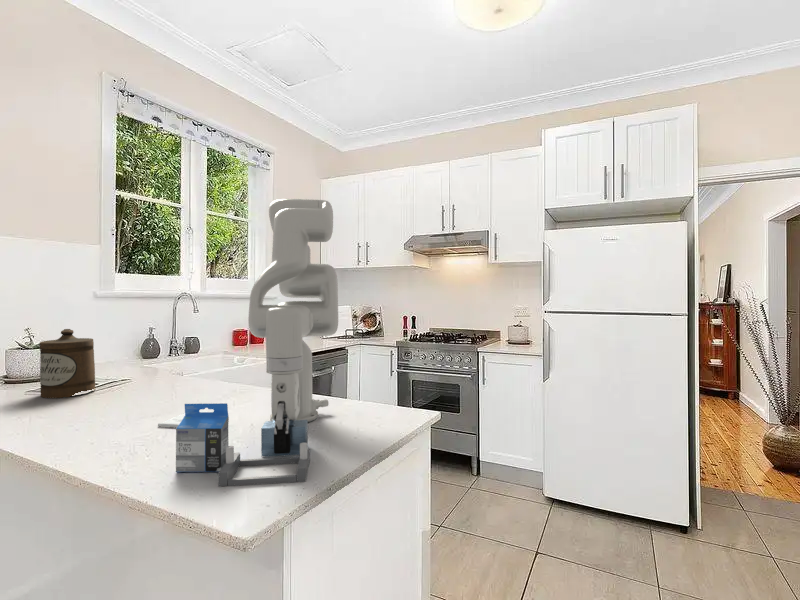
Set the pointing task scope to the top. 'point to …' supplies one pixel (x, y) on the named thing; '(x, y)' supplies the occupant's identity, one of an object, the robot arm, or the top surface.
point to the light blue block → (297, 436)
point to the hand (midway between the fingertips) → (285, 444)
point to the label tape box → (202, 438)
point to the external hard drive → (175, 421)
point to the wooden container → (66, 365)
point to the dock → (234, 462)
